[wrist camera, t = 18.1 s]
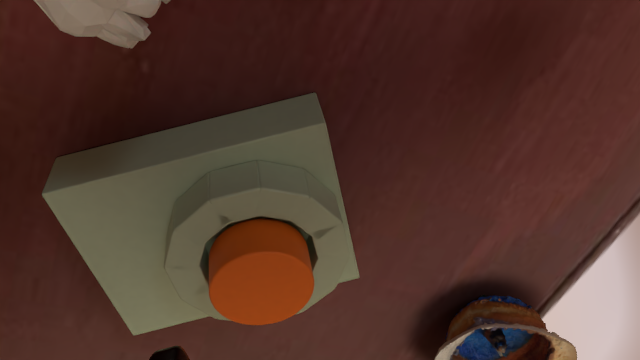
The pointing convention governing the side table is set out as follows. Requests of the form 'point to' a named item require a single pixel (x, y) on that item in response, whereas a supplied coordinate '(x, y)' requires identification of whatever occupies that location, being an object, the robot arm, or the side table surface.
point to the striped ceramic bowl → (502, 333)
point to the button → (260, 272)
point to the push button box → (200, 206)
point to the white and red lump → (103, 18)
